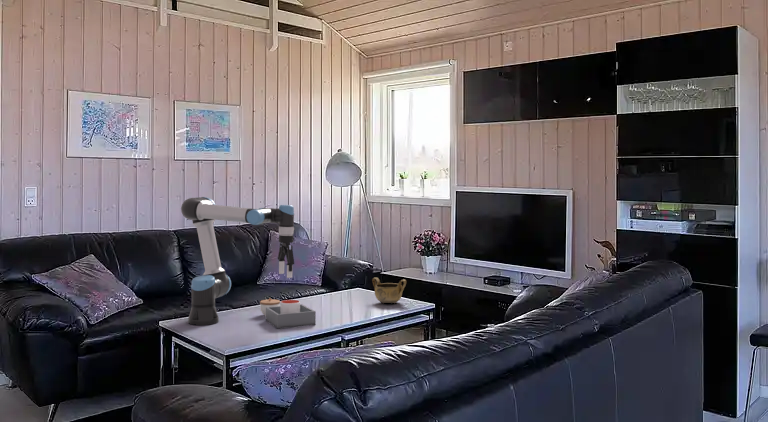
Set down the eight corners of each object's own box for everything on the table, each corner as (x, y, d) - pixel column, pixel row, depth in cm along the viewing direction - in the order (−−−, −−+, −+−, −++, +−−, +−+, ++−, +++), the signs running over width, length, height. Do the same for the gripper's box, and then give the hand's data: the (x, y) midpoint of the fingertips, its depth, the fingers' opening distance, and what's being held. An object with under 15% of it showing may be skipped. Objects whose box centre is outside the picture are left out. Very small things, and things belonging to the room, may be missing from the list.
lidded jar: (263, 318, 348) (263, 300, 348) (257, 314, 358) (257, 297, 357) (282, 316, 353) (282, 299, 353) (276, 312, 363) (276, 295, 362)
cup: (303, 319, 340) (303, 300, 340) (293, 323, 331) (293, 304, 331) (287, 318, 344) (287, 299, 344) (276, 321, 335) (276, 302, 335)
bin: (277, 328, 324) (277, 314, 324) (265, 320, 342) (265, 307, 342) (315, 324, 334) (315, 311, 333) (302, 317, 351) (302, 304, 351)
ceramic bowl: (411, 302, 394) (411, 278, 393) (398, 307, 379) (398, 281, 378) (379, 299, 405) (379, 275, 404) (365, 303, 390) (365, 278, 389)
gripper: (301, 237, 328) (300, 279, 330) (285, 232, 351) (285, 271, 352) (286, 237, 325) (285, 279, 326) (272, 232, 347) (271, 272, 349)
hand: (285, 275), depth 339 cm, fingers open, 13 cm apart
